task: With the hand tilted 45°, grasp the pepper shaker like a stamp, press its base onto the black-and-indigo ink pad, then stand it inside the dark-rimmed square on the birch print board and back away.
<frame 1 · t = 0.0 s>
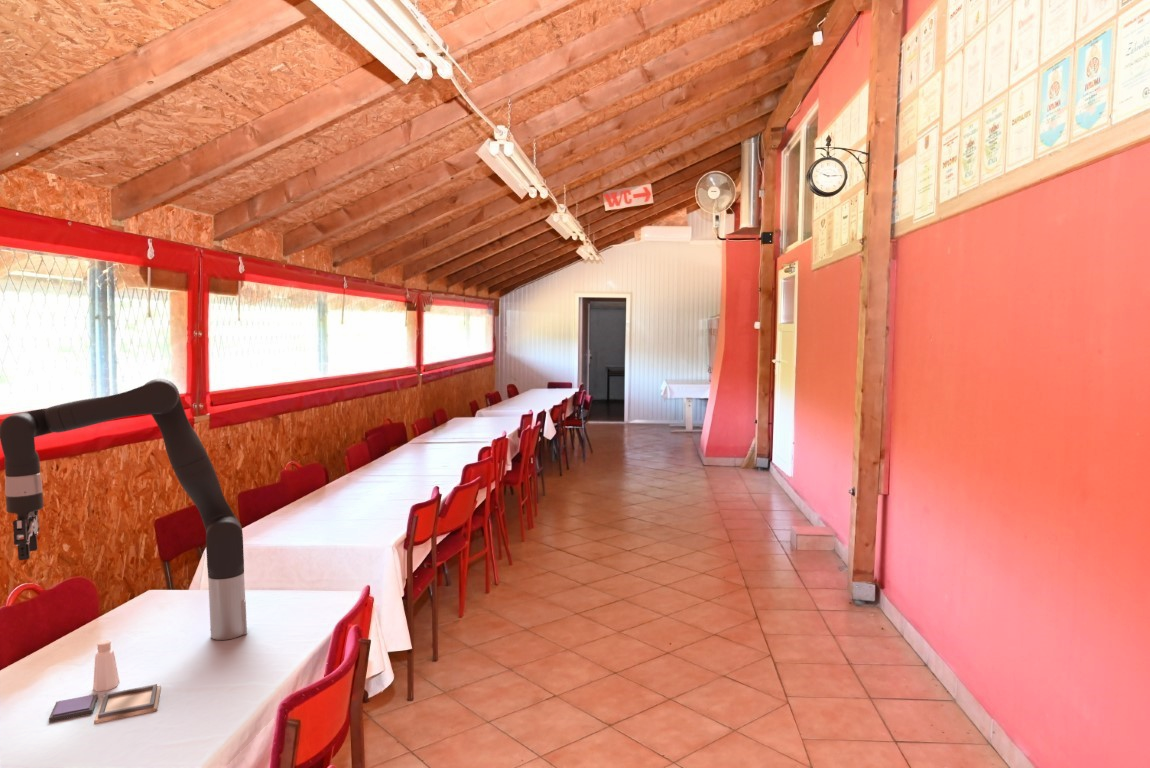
hand: (28, 555, 187), 29 cm above the table, tool pointing down, fingers open, 8 cm apart
ink pad: (74, 709, 167), on the table
pepper shaker: (106, 687, 178), on the table
print board: (129, 704, 169), on the table
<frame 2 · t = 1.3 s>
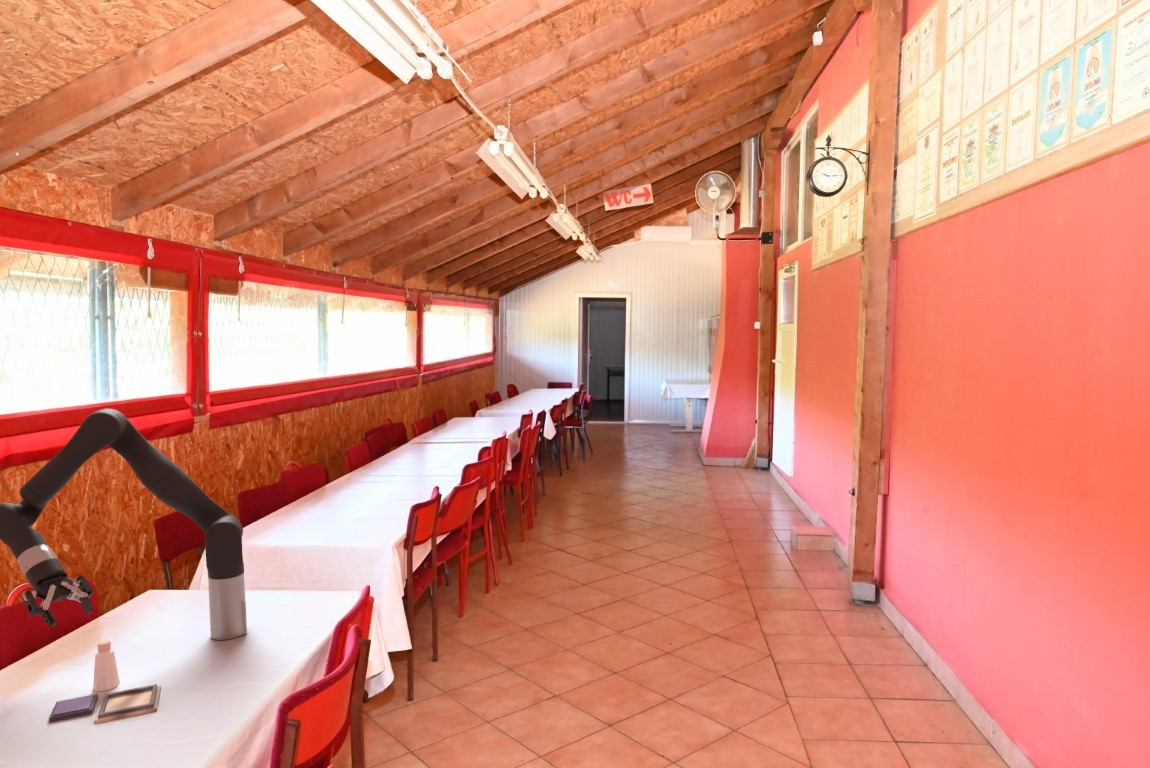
hand: (72, 618, 182), 15 cm above the table, tool tilted 45°, fingers open, 8 cm apart
nothing on the table moved.
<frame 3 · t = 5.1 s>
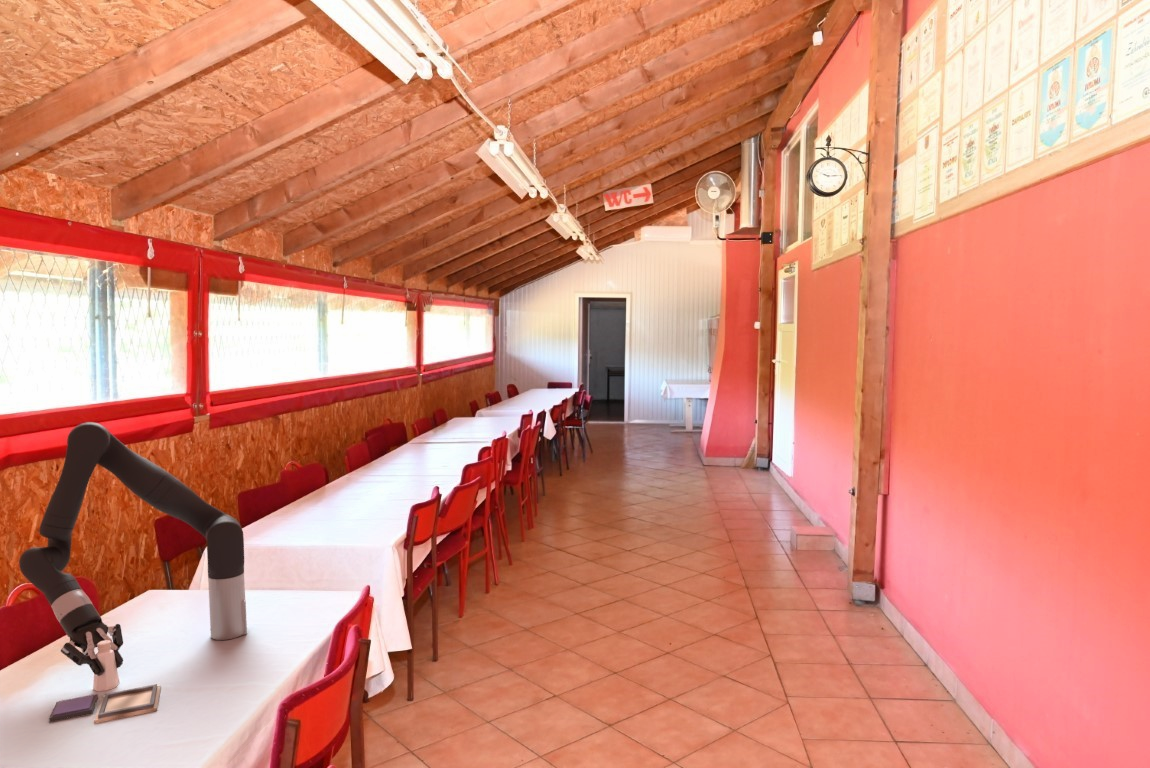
hand: (110, 669, 177), 5 cm above the table, tool tilted 45°, fingers closed on pepper shaker, 3 cm apart
pepper shaker: (106, 687, 178), on the table, touching gripper
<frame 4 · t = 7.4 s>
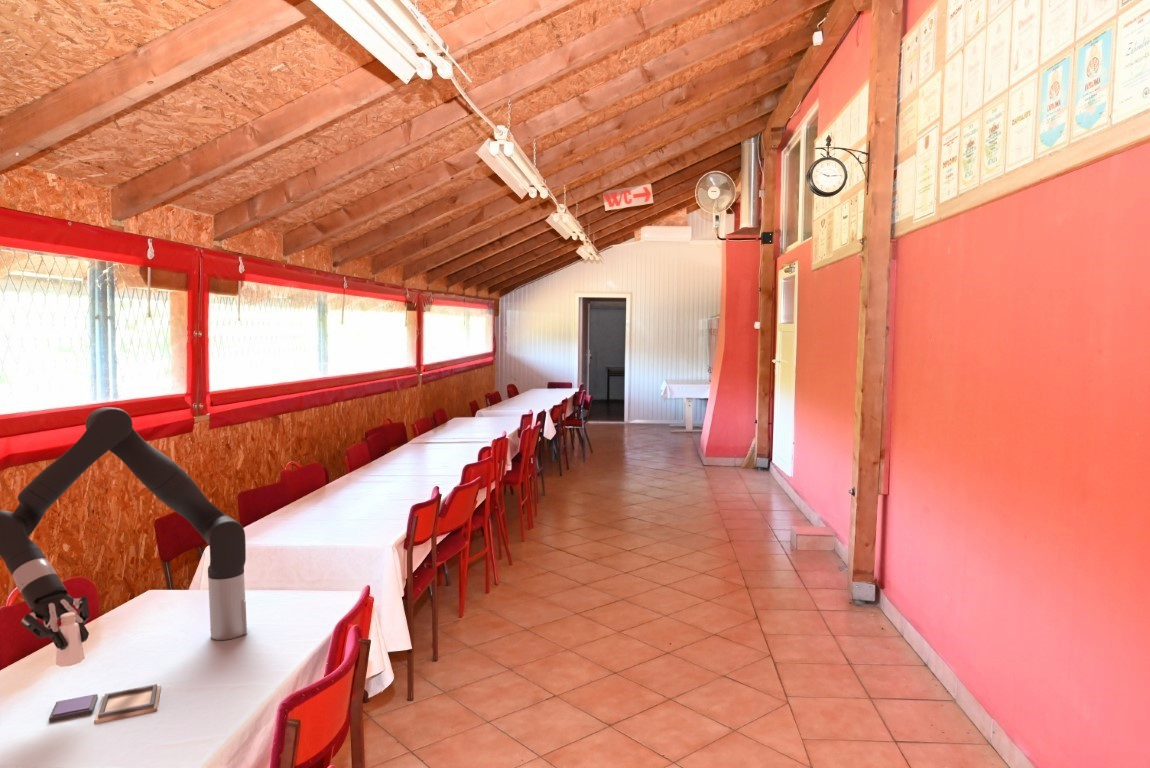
hand: (75, 643, 165), 16 cm above the table, tool tilted 45°, fingers closed on pepper shaker, 3 cm apart
pepper shaker: (70, 662, 166), point 11 cm above the table, touching gripper
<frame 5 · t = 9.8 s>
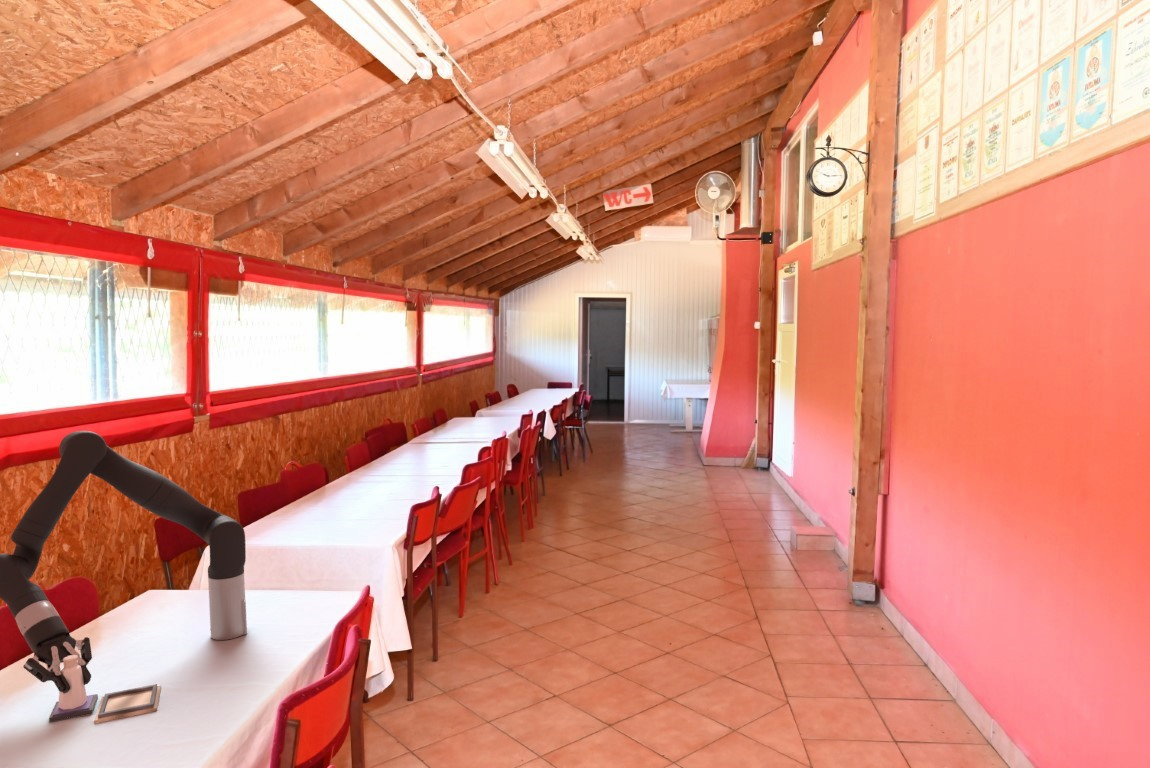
hand: (77, 686, 165), 6 cm above the table, tool tilted 45°, fingers closed on pepper shaker, 3 cm apart
pepper shaker: (73, 705, 167), point 1 cm above the table, touching gripper, ink pad
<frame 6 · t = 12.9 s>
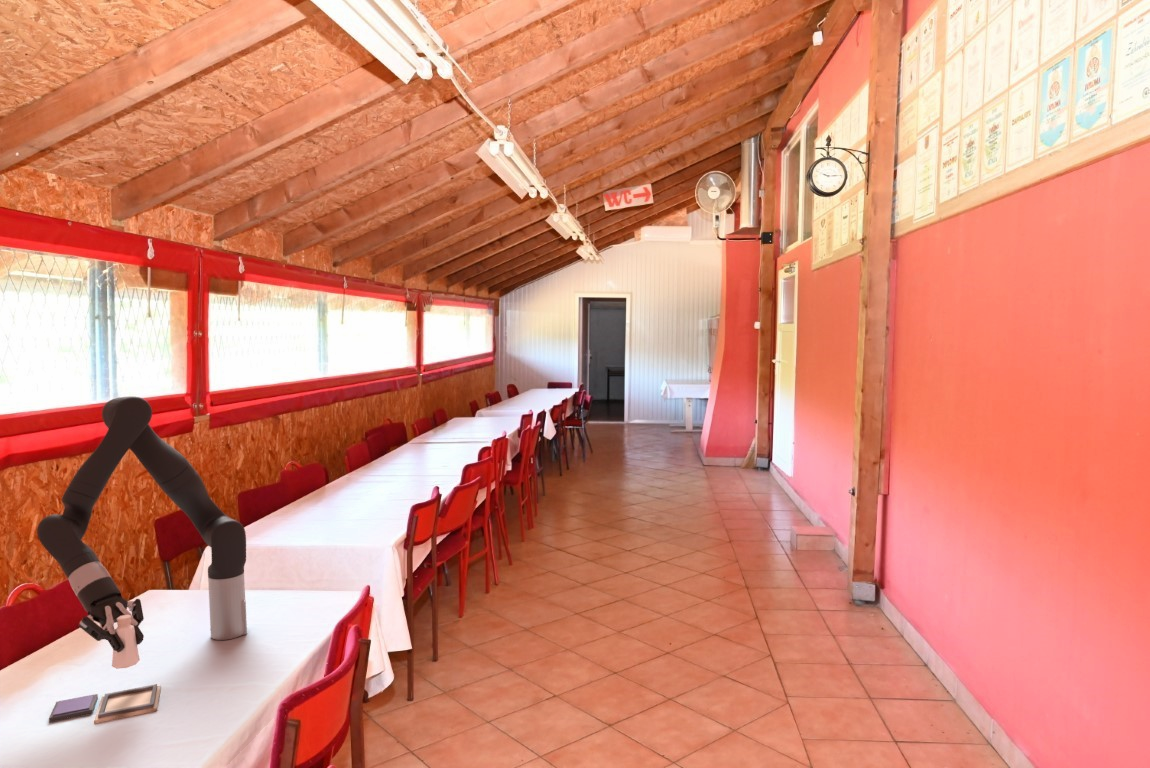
hand: (131, 645, 167), 14 cm above the table, tool tilted 45°, fingers closed on pepper shaker, 3 cm apart
pepper shaker: (126, 664, 168), point 10 cm above the table, touching gripper
when the fingers open (6 cm above the table, at t = 14.9 s): pepper shaker drops 1 cm, resting on print board.
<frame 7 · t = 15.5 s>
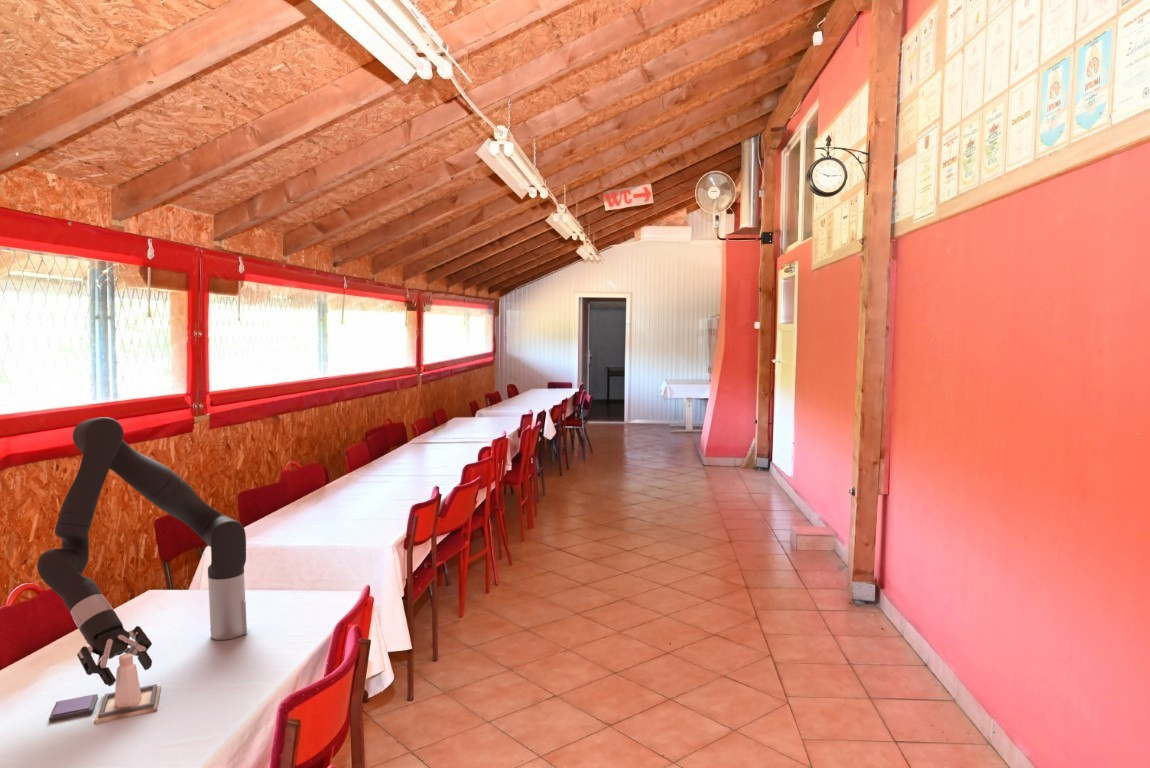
hand: (131, 675, 168), 7 cm above the table, tool tilted 45°, fingers open, 8 cm apart
pepper shaker: (128, 702, 169), resting on print board
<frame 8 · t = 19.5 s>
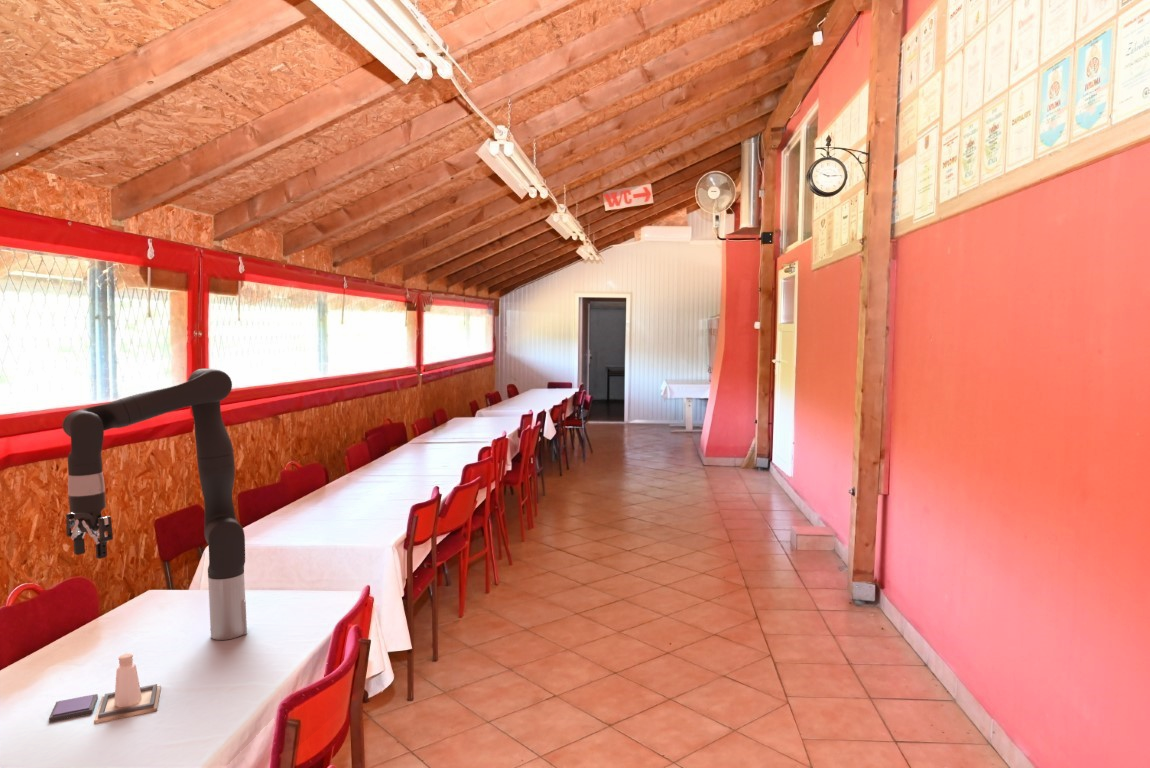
hand: (90, 555, 182), 30 cm above the table, tool pointing down, fingers open, 8 cm apart
nothing on the table moved.
at the end: pepper shaker inside the target area on the print board (0.3 cm from its centre), point 0.4 cm above the print board's base; pepper shaker tilted 0°; the gripper is holding nothing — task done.
